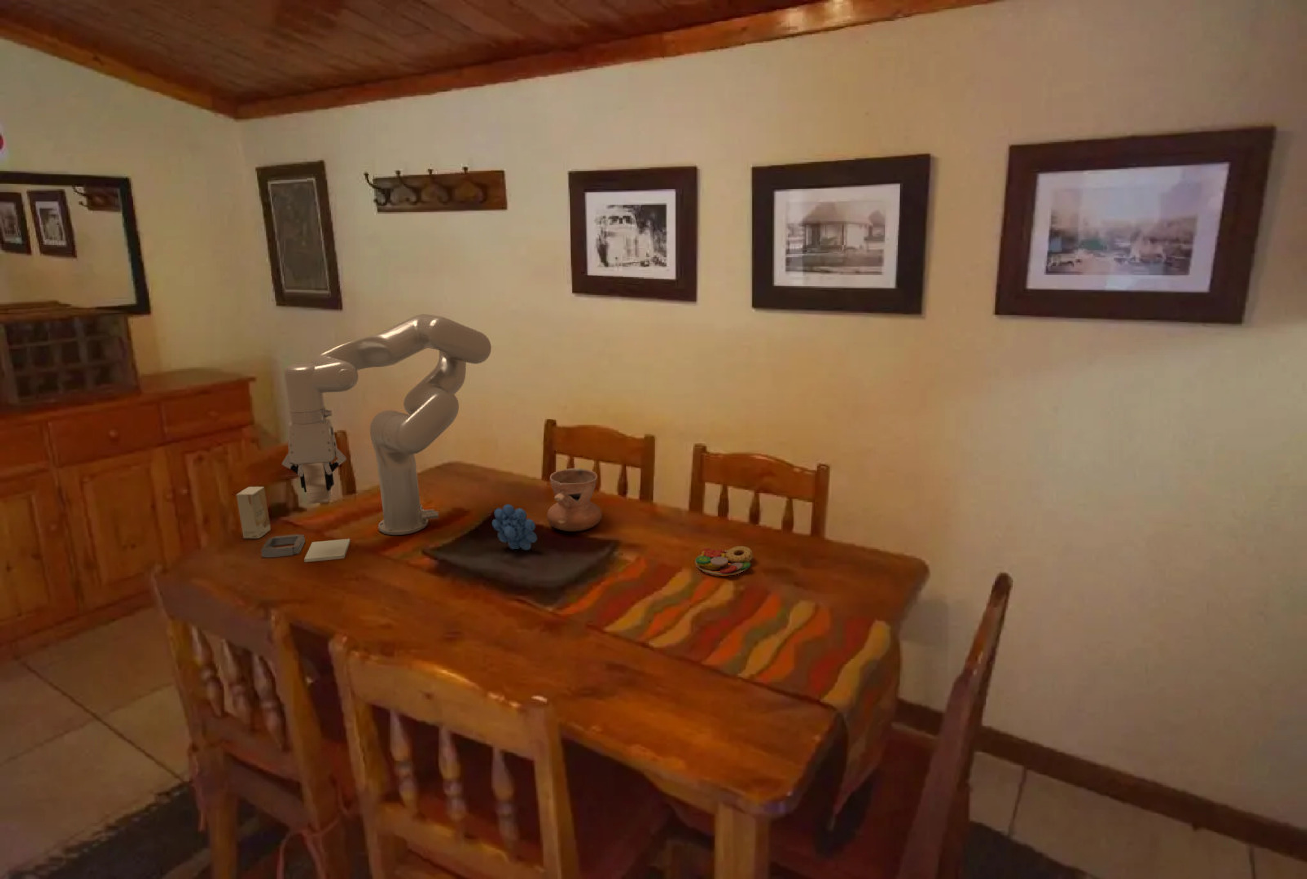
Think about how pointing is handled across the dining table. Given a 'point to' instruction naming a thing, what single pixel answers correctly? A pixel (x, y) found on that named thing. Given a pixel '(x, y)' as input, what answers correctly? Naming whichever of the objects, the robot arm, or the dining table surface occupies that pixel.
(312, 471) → the square peg
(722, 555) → the toy food set
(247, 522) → the skincare box
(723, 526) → the dining table surface
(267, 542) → the frame
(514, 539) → the blue flower
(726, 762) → the dining table surface
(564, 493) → the ceramic jug
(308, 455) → the robot arm
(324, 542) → the coaster
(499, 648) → the dining table surface
